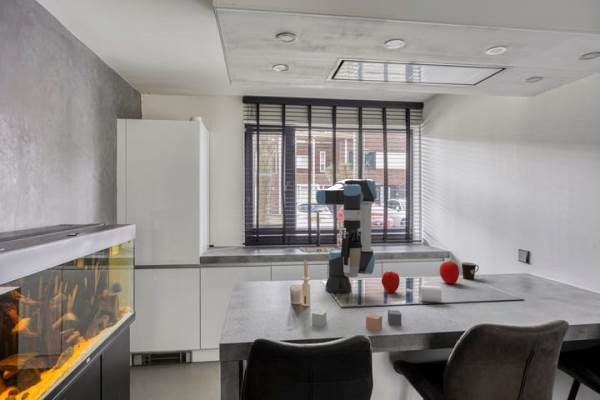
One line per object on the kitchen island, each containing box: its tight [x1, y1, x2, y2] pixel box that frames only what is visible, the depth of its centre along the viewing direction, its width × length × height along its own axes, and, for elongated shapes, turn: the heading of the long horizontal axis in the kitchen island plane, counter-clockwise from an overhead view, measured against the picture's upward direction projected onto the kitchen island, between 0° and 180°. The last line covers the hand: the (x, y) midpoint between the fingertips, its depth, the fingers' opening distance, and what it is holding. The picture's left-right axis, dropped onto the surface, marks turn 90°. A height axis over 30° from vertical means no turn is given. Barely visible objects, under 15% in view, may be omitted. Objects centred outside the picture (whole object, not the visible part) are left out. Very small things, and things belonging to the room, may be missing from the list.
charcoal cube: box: [387, 309, 402, 327], centre depth 150 cm, size 5×5×5 cm
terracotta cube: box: [365, 313, 383, 332], centre depth 145 cm, size 5×5×5 cm
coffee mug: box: [461, 262, 480, 281], centre depth 230 cm, size 12×9×10 cm
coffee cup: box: [340, 241, 362, 278], centre depth 153 cm, size 9×9×15 cm
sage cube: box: [311, 309, 327, 327], centre depth 149 cm, size 5×5×5 cm
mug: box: [418, 285, 443, 303], centre depth 183 cm, size 12×10×8 cm
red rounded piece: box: [381, 271, 401, 294], centre depth 197 cm, size 10×10×12 cm
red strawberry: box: [439, 260, 460, 285], centre depth 218 cm, size 13×11×14 cm
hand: (351, 270), depth 153 cm, fingers closed on coffee cup, 8 cm apart
